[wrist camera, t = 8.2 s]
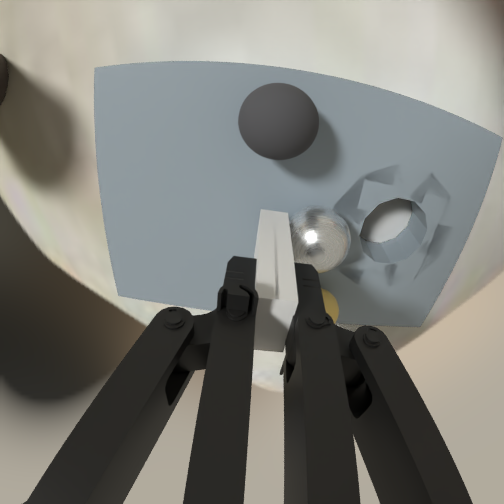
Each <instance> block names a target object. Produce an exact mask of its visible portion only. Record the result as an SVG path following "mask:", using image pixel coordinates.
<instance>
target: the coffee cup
mask: <svg viewBox="0 0 504 504" xmlns="http://www.w3.org/2000/svg"><path fill="white" fill-rule="evenodd" d="M7 86H8V66H7V63H6V61H5V58H4V57H3V56H2V55H1V54H0V105H1V103H2V101H3V99H4V97H5V94H6V90H7Z"/></svg>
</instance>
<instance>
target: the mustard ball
mask: <svg viewBox="0 0 504 504" xmlns="http://www.w3.org/2000/svg"><path fill="white" fill-rule="evenodd" d="M321 290H322V295H323V300H324V305H325V310H326V313H328V314H329V315H330V316H331V317H332V319H333V321H334V324H335V323H336V321H337V319H338V315H339V306H338V303H337V300H336V298H335V297H334V296H333V295H332V294H331V293H330V292H329V291H327V290H325V289H322V288H321Z"/></svg>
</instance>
